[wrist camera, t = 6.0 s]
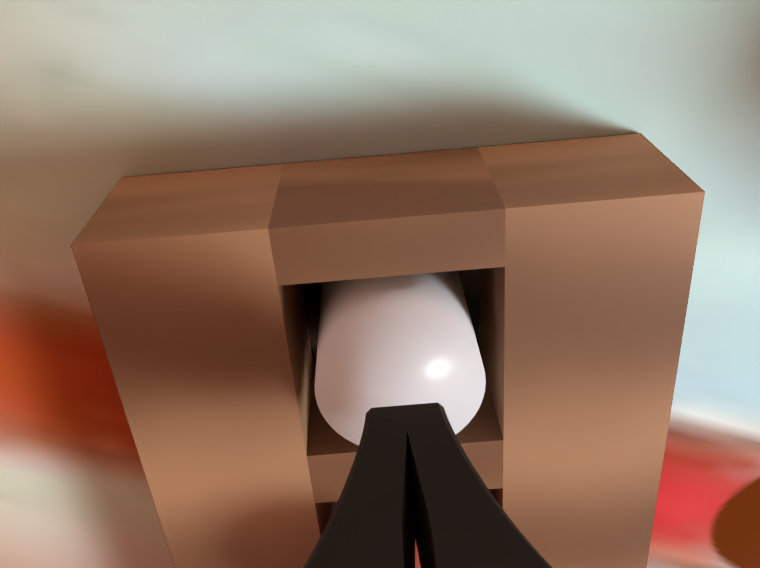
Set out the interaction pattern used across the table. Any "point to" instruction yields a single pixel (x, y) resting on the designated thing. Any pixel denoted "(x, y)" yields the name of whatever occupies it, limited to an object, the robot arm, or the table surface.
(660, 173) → the light brown rack
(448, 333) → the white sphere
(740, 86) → the table surface
